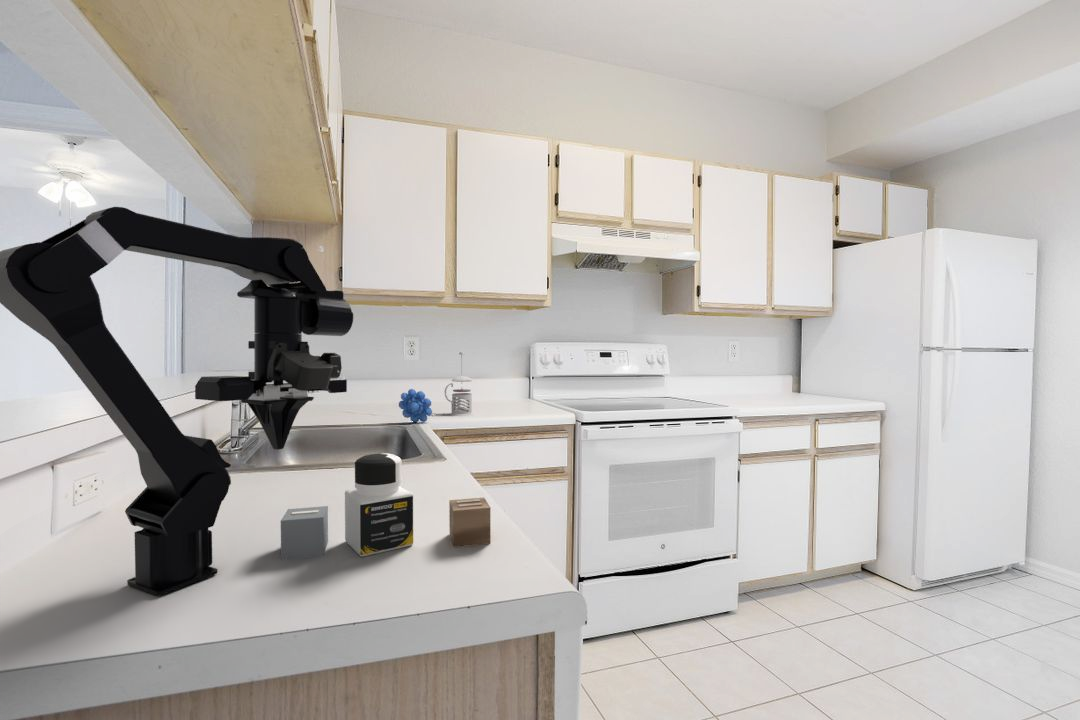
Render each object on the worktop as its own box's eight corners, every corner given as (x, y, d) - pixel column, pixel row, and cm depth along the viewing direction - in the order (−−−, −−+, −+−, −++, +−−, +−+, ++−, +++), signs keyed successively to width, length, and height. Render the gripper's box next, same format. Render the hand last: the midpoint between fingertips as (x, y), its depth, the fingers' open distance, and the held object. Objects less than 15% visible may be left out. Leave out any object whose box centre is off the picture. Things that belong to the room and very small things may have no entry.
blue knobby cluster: (396, 424, 181) (396, 389, 181) (399, 422, 188) (399, 388, 188) (430, 424, 182) (430, 389, 182) (433, 421, 189) (432, 388, 189)
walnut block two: (490, 544, 72) (490, 506, 72) (453, 547, 70) (453, 509, 70) (484, 531, 76) (484, 496, 76) (449, 534, 75) (449, 499, 75)
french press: (472, 416, 204) (472, 351, 204) (442, 416, 204) (442, 351, 204) (476, 412, 214) (475, 351, 213) (447, 412, 214) (447, 351, 214)
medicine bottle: (360, 558, 67) (359, 463, 66) (344, 541, 72) (343, 454, 72) (414, 545, 71) (413, 456, 70) (394, 530, 77) (394, 448, 76)
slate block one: (323, 555, 68) (323, 516, 67) (281, 560, 66) (280, 519, 66) (328, 542, 72) (327, 504, 72) (288, 545, 71) (288, 507, 71)
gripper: (247, 330, 59) (247, 468, 59) (373, 335, 75) (373, 444, 76) (192, 331, 64) (192, 458, 65) (321, 336, 81) (321, 437, 81)
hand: (278, 449), depth 71 cm, fingers closed
